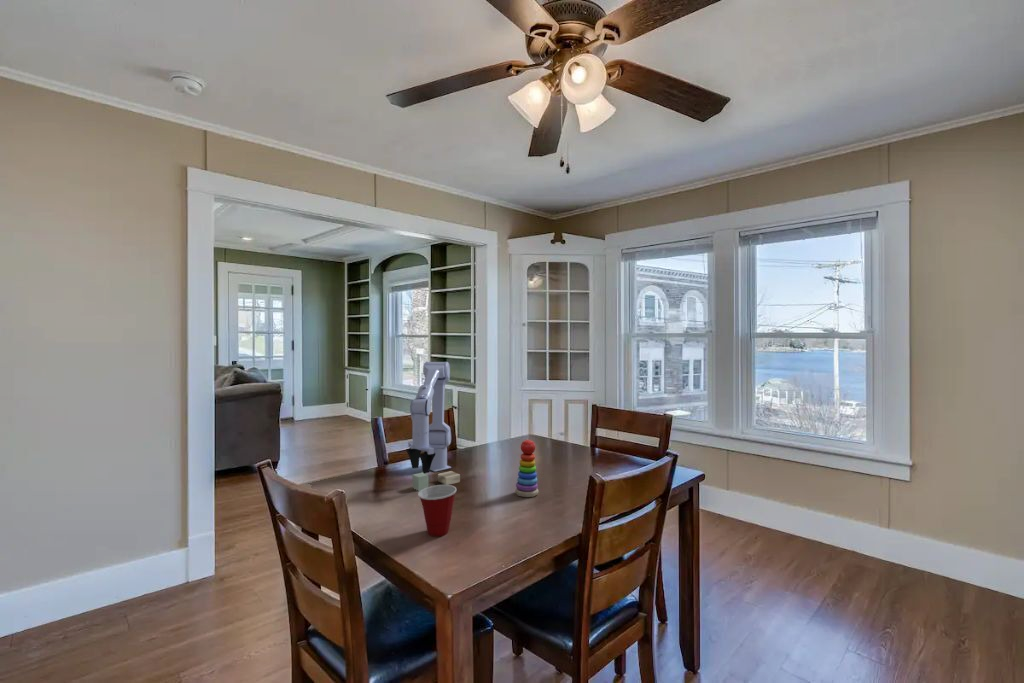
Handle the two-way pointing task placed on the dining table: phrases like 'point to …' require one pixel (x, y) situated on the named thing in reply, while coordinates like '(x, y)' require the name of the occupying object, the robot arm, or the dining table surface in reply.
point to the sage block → (420, 481)
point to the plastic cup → (437, 508)
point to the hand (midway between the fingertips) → (420, 470)
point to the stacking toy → (527, 471)
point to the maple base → (448, 477)
